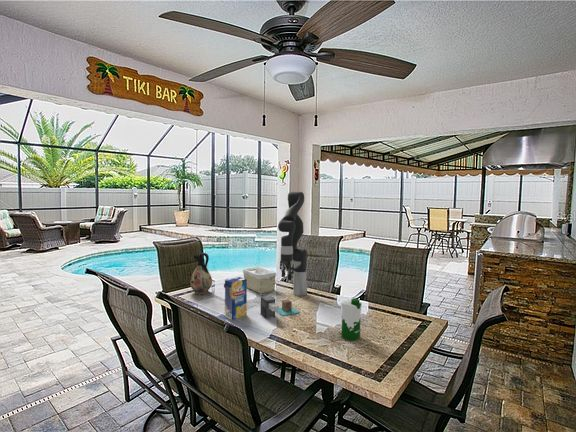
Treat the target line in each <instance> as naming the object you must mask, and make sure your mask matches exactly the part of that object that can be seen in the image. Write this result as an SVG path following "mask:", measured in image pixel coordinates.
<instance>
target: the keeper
mask: <svg viewBox="0 0 576 432" xmlns="http://www.w3.org/2000/svg"><path fill="white" fill-rule="evenodd" d="M267 302H274V303H276V298H274V297H273V296H272V295H266V296H260V315H261V316H262V317H263V318H264V319H270V318H275V317H276V311H272V310H270V309H269V308H268V307H267Z"/></svg>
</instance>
